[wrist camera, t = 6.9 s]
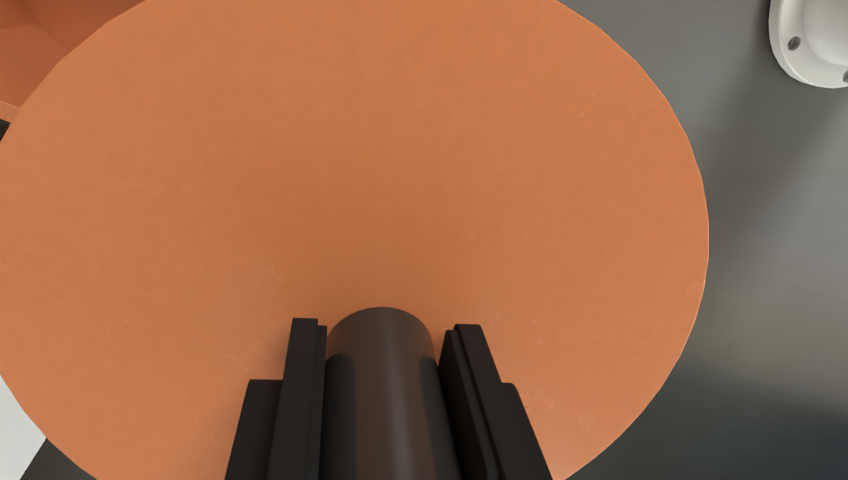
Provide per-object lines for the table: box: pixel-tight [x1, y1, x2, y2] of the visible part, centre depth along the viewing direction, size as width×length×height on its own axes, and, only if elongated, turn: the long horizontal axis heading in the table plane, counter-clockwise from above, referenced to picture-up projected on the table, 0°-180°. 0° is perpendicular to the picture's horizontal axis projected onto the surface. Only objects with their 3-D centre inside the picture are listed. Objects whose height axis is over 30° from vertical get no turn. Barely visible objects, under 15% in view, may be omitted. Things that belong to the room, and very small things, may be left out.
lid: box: [0, 0, 709, 480], centre depth 10 cm, size 17×17×6 cm
